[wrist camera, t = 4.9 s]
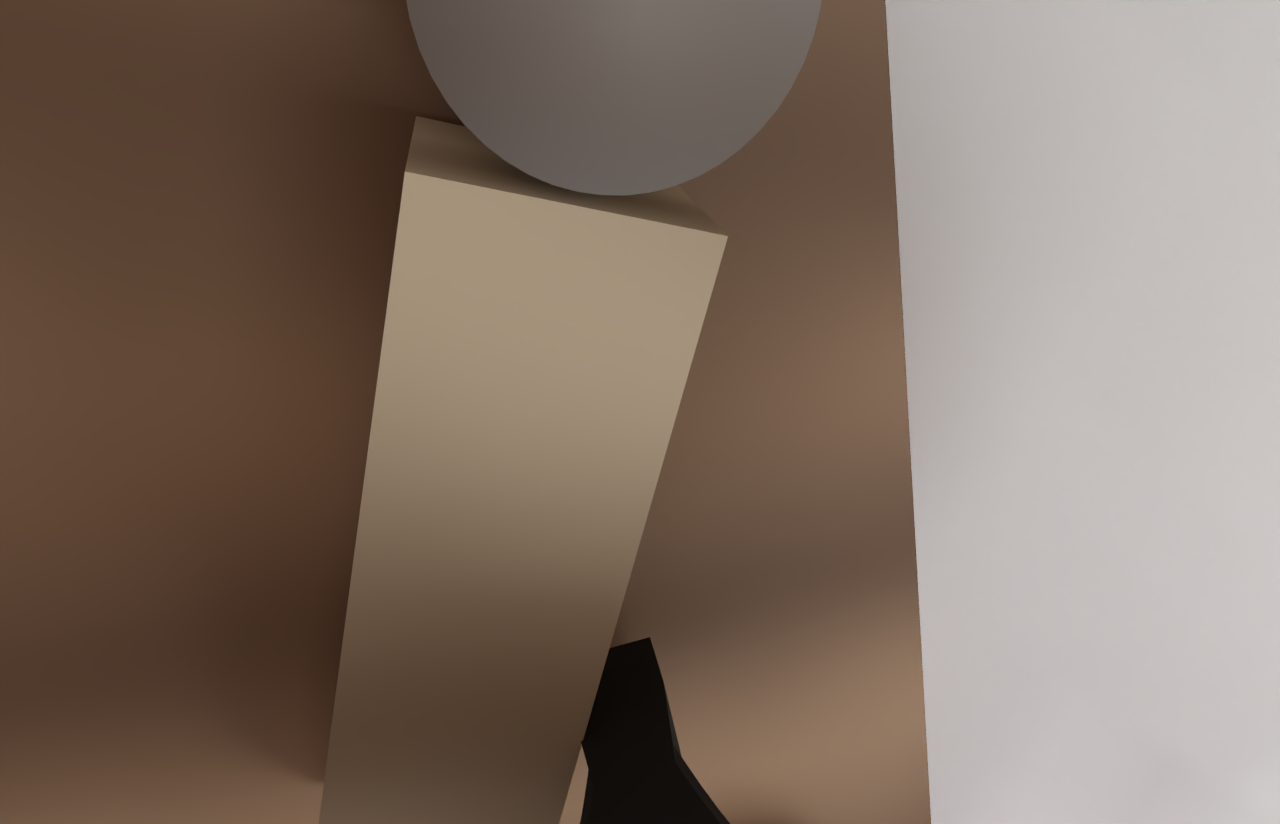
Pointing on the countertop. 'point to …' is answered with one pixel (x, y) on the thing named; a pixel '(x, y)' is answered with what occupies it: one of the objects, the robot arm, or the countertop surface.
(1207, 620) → the countertop surface
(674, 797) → the robot arm
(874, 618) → the brown wooden flat board
